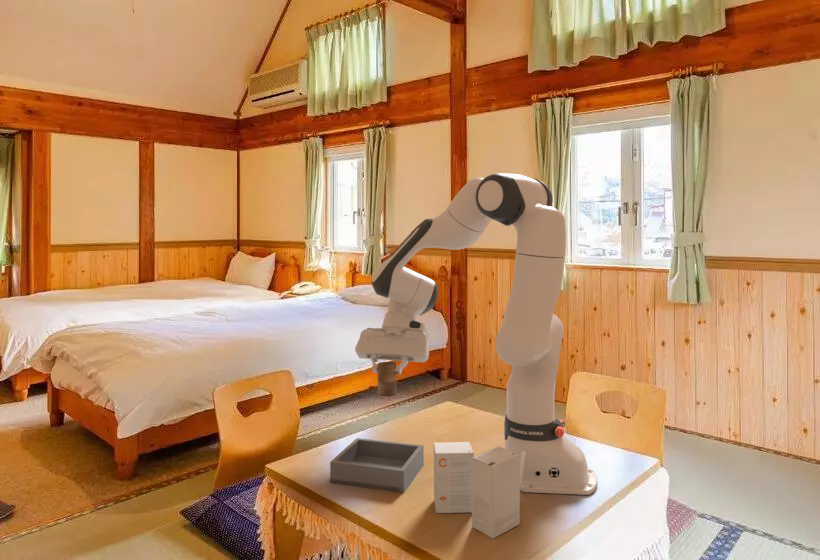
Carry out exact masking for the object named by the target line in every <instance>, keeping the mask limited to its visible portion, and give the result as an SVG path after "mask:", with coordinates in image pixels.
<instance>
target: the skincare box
mask: <svg viewBox="0 0 820 560" xmlns="http://www.w3.org/2000/svg"><path fill="white" fill-rule="evenodd" d="M520 509H521V490H520V455H519V454H516V453H514V452H512V451H509V450H507V449H505V447H502V446H496V447H494V448H492V449H489V450H487V451H485V452H482V453H480V454H477V455H474V457H472V513H471V526H472V528H474V529H476V530H478V532H481V533H482V534H484V535H485V536H487V537H489V538H491V539H495V538H497V537H498V536H500V535H502V534H504V533H506V532H507V531H509V530H511V529H513V528H515V527H516V526H519V525H520V524H521V521H520V520H521V519H520V518H521V517H520V516H521V515H520V513H521V510H520Z"/></svg>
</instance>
